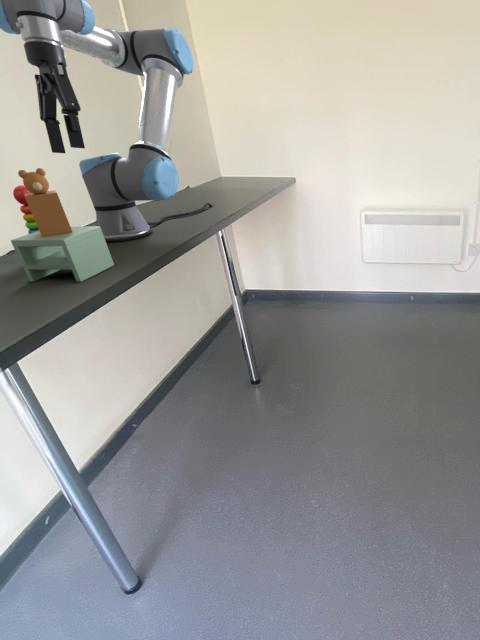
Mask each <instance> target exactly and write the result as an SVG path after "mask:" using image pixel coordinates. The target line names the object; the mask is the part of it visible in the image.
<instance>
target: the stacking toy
mask: <svg viewBox="0 0 480 640" xmlns="http://www.w3.org/2000/svg"><path fill="white" fill-rule="evenodd" d="M29 193H31V192H30V191H28V190H27V189H26V187H25V186H24V184H21V185H20V184H19V185H17V186H16V187H14V188H13V192H12V194H13V195H12V196H13V198H14V199H15V201H16V202H17V203H18V204H20V207H19V210H20V212H21V213H22V214H23V215H22V219H23V220H24V221H25V224H24V225H25V227H26V229H28V231H27V233H28V234H31V233H34V232H37V231H39V229H38V226H37V224H36V222H35V219H34V217H33V215H32V213H31V210H30V208H29V206H28V203H27V201H26V199H25V196H24V194H29Z"/></svg>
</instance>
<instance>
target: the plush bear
mask: <svg viewBox="0 0 480 640" xmlns="http://www.w3.org/2000/svg"><path fill="white" fill-rule="evenodd" d="M17 174H18V176H19V177H20V178H21V179H22V184H23V185H24V186H25V187H26V189H27V190H28V191H30V192H31V193H29V194H24V196H25V199H26V201H27V203H28V206H29V208H30V210H31V213H32V215H33V217H34V219H35V222H36V224H37V226H38V229H39V231H40V233H41V235H42V237H47V236H53V235H60V234H66V233H72V229H71V227H72V226H71V225H70V222H69V219H68V217H67V214H66V212H65V210H64V207H63V204H62V202H61V199H60V197H59V195H58V193H57V191H56V189H55V190H49V188H50V183H49V181H48V179H47V178H46V171H45V170H44V169H43V168H41V167H38V168H36V169H35V171H29V172H27V171H26V170H24V169H19V170H18V172H17Z"/></svg>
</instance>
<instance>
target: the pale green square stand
mask: <svg viewBox="0 0 480 640" xmlns="http://www.w3.org/2000/svg"><path fill="white" fill-rule="evenodd" d="M70 227H71V229H72V233H66V234H60V235H53V236H47V237H42V235H41V233H40V231H37V232H34V233H31V234H29V233H28V234H25V235H22V236H19V237H16V238H14V239H10V242H11V244H12V246H13V250H14V251H15V253H16V255H17V257H18V260H19V262H20V265H21V266H22V268H23V270H24V272H25V274H26V276H27V278H28V280H29V282H36V281H38V280H41V279H43V278H45V277H47V276H50V275H52V274H54V273H57V272H59V271H61V270H62V271H63V270H64V271H66V270H67V271H68V270H70V271H72V274H73V276H74V279H75V282H77V283H82V282H84V281H86V280H88V279H89V278H91V277H93V276H96V275H97V274H100V273H101V272H104V271H106V270H108V269H109V268H112V267H114V266H115V263H114V261H113V257H112V255H111V253H110V249H109V247H108V244H107V241H105V238H104V236H103V233H102V230H101V228H100V226H97V225H91V226H89V225H87V226H85V225H83V226H82V225H81V226H79V225H78V226H76V225H75V226H70Z"/></svg>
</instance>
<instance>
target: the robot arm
mask: <svg viewBox="0 0 480 640" xmlns="http://www.w3.org/2000/svg"><path fill="white" fill-rule="evenodd" d="M0 30H2V31H3V32H5V33H7V34H10V35H21V39H22V41H24V44H23V48H24V52H25V58H26V60H27V62H28V63H29V64H30V65H31V66H34V67H36V68H38V72H39V73H38V74H34V80H35V85H36V92H37V101H38V110H39V111H38V112H39V119H40V121H43V123H44V125H45V129H46V133H47V136H48V141H49V144H50V149H51V153H52V154H53V153H54V154H66V149H65V145H64V140H63V136H62V131H61V128H60V125H61V122H60V121H59V119H58V118H57V116H58V115H57V114H58V113H57V106H58V105H57V102H58V103H59V105H60V107H61V114H62V115H63V121H64V124H65V125H64V126H65V128H66V134H67V137H68V141H69V145H70V148H73V149H86V147H85V142H84V138H83V133H82V128H81V125H80V119H79V112H81V109H82V108H81V106H80V103H79V101H78V98H77V96H76V93H75V90H74V88H73V86H72V83H71V81H70V78H69V75H68V70H67V67H68V63H67V58H66V54H65V50H64V48H67V49H69V50H72V51H75V52H78V53H81V54H82V55H83V54H84V55H86V56H89V57H92V58H94V59H98V60H100V61H101V62H102V63H103V65H106V66H108V67H110V68H113V69H115V70H118V71H122V72H125V73H128V74H132V75H134V76H141V77H145V79H144V86H143V92H142V93H143V94H142V100H141V108H140V114H139V121H138V129H137V135H136V142H135V143H132V144H131V145H130V146H129V148H128V155H127V158H125V157H122V156H121V154H120V153H118V152H115V153H109V154H103V155H98V156H93V157H88V158H84V159H81V160H79V161H80V162H79V163H78V164H79V169H80V172H81V178H82V180H83V182H84V185H85V188H86V190H87V194H88V196H89V198H90V200H91V203H92V205H93V209H94V212H95V218H96V219H95V220H96V226H100V228H101V230H102V233H103V236H104V238H105V241H106V242H123V241H124V242H125V241H130V240H135V239H139V238H142V237H146V236H148V235H150V234H151V232H152V230H151V228H150V226H155V225H159V224H160V223H162V222H163V221H164V220H167V219H173V218H180V217H186V216H190V215H194V214H196V213H199V212H201V211H203V210H205V209H206V208H207V207H213V205H212V204H211V203H210V202H205V203H204V205H203V206H201V207H199V208H196V209H194V210H191V211H187V212H182V213H175V214H170V215H169V214H168V215H165V216H163V217H160V218H158V220H156V221H146V219H145V218H144V216H143V214H142V213H141V212H140V210H139V209H138V207H137V204H136V201H137V202H138V201H139V202H140V201H144V202H145V201H154V202H160V201H165V200H170V199H172V198H173V197H174V196H175V195H176V193H177V192H178V189H179V184H180V183H179V182H180V179H179V176H178V173H179V172H178V169H177V167H176V165H175V163H174V162H173V158H172V157H171V156H170V155H169V147H170V141H171V133H172V126H173V117H174V110H175V104H176V103H175V102H176V94H177V89H179V88H181V87H182V86H183V83H184V77H185V75H191V74H192V73H194V67H195V66H194V58H193V54H192V51H191V48H190V46H189V43H188V42H187V39H186V38H185V36H184V35H183V34H182V33H181V31H179V30H178V29H177V28H173V27H172V28H171V27H170V28H167V27H163V28H155V29H153V28H152V29H141V30H140V29H138V30H125V31H122V30H121V31H117V30H114V29H111V28H100V27H97V26H96V17H95V13H94V11H93V8H92V7H91V5H90V4H89V3H88V2H87V1H86V0H0ZM63 47H64V48H63ZM220 239H221V242H222V247H223V251H224V254H225V259H226V263H227V268H228V272H229V276H230V281H231V286H232V289H233V293H234V296H235V297H237V296H238V294H237V289H236V286H235V285H236V284H235V280H234V276H233V272H232V268H231V263H230V259H229V255H228V250H227V246H226V241H225V238H224V235H221V236H220Z"/></svg>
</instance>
